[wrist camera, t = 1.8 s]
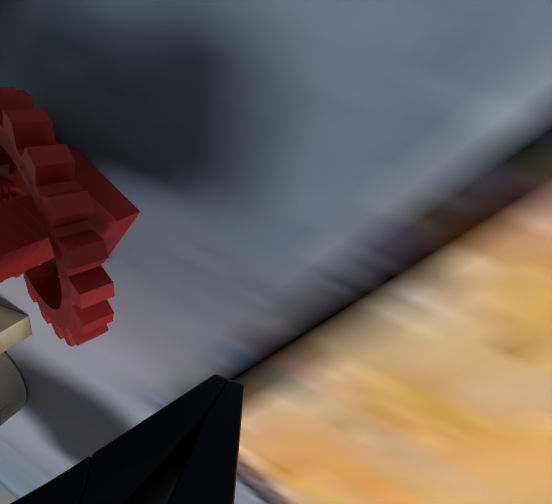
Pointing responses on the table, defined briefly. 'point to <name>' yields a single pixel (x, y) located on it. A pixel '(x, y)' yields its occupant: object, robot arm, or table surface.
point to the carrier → (12, 328)
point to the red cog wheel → (56, 221)
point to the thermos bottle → (10, 389)
